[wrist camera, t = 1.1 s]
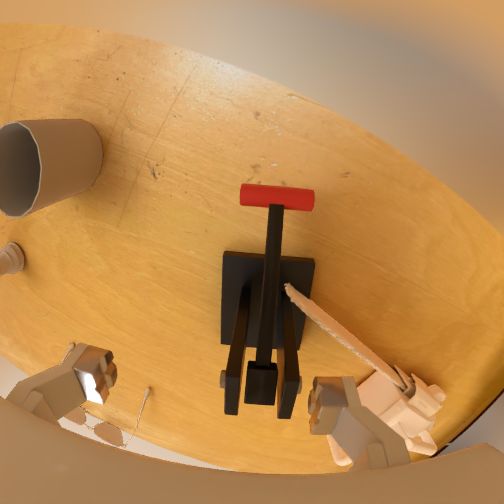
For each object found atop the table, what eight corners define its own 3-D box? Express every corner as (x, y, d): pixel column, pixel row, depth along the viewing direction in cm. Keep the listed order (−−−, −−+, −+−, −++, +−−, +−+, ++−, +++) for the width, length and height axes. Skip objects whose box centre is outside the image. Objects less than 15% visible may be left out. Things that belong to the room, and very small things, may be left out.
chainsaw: (301, 255, 30) (340, 315, 18) (441, 386, 38) (477, 435, 26) (208, 350, 33) (198, 434, 21) (373, 442, 41) (396, 495, 29)
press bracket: (224, 250, 30) (192, 333, 17) (314, 258, 30) (341, 345, 17) (222, 338, 34) (200, 433, 21) (298, 344, 34) (307, 441, 21)
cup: (71, 105, 25) (7, 103, 16) (116, 147, 27) (56, 157, 17) (38, 165, 28) (-22, 181, 18) (78, 208, 29) (20, 237, 20)
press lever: (242, 188, 24) (241, 178, 21) (310, 194, 24) (316, 185, 21) (224, 390, 22) (221, 401, 20) (293, 395, 22) (296, 407, 19)
